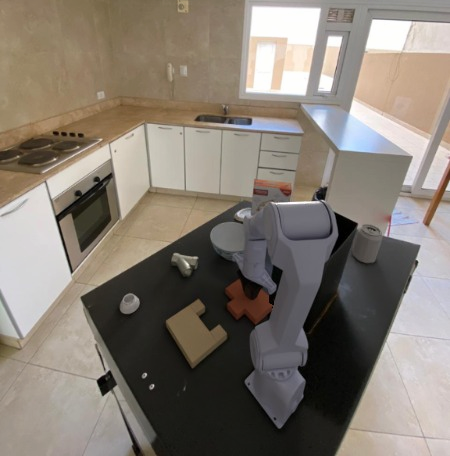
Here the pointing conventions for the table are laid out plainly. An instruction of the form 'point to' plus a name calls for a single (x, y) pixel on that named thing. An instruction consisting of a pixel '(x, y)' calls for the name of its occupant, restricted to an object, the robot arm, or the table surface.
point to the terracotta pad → (247, 302)
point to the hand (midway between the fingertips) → (250, 294)
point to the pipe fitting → (184, 263)
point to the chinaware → (228, 239)
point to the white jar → (129, 304)
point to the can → (367, 243)
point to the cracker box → (269, 193)
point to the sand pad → (194, 333)
